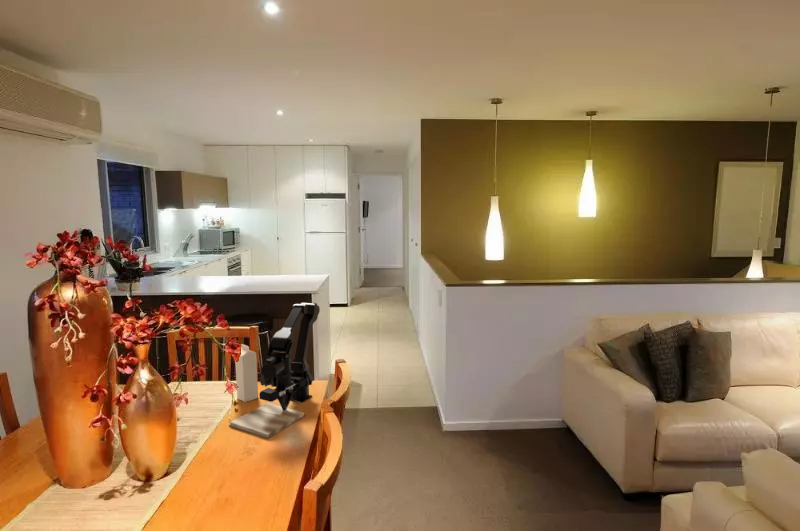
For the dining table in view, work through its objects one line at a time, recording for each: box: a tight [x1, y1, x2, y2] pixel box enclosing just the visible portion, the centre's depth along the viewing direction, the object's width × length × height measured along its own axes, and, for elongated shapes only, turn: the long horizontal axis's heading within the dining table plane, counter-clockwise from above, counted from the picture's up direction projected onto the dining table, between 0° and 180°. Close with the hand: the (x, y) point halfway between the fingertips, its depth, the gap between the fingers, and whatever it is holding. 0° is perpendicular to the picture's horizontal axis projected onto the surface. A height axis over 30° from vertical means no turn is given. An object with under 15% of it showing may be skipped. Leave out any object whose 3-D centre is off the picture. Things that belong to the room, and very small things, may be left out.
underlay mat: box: [228, 414, 306, 439], centre depth 164 cm, size 19×18×1 cm
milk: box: [234, 343, 259, 403], centre depth 182 cm, size 6×6×22 cm
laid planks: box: [229, 409, 293, 439], centre depth 161 cm, size 12×18×1 cm, turn 61°
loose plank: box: [255, 402, 305, 424], centre depth 169 cm, size 6×18×1 cm, turn 61°
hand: (284, 409), depth 170 cm, fingers closed, pressing on loose plank
